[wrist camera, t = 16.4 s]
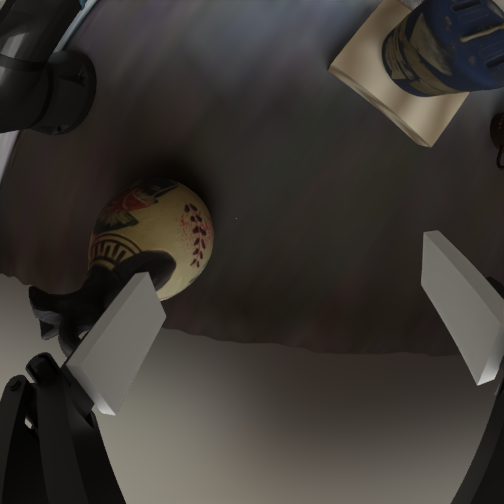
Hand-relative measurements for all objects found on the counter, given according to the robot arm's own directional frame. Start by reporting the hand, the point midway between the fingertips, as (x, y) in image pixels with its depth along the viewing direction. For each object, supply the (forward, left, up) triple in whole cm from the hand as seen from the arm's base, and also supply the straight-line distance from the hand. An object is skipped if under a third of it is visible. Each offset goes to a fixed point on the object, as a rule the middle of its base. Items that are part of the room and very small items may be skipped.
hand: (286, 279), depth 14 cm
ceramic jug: (-10, -15, -30) cm, 35 cm away
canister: (+3, +22, -25) cm, 34 cm away
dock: (+3, +22, -30) cm, 37 cm away
